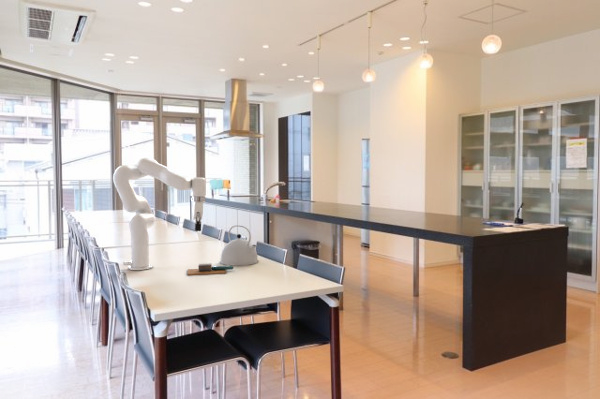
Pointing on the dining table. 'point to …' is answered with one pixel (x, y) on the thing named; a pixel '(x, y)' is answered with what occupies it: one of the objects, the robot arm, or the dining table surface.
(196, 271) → the cork mat
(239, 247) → the kettle
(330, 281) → the dining table surface
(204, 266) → the brush
